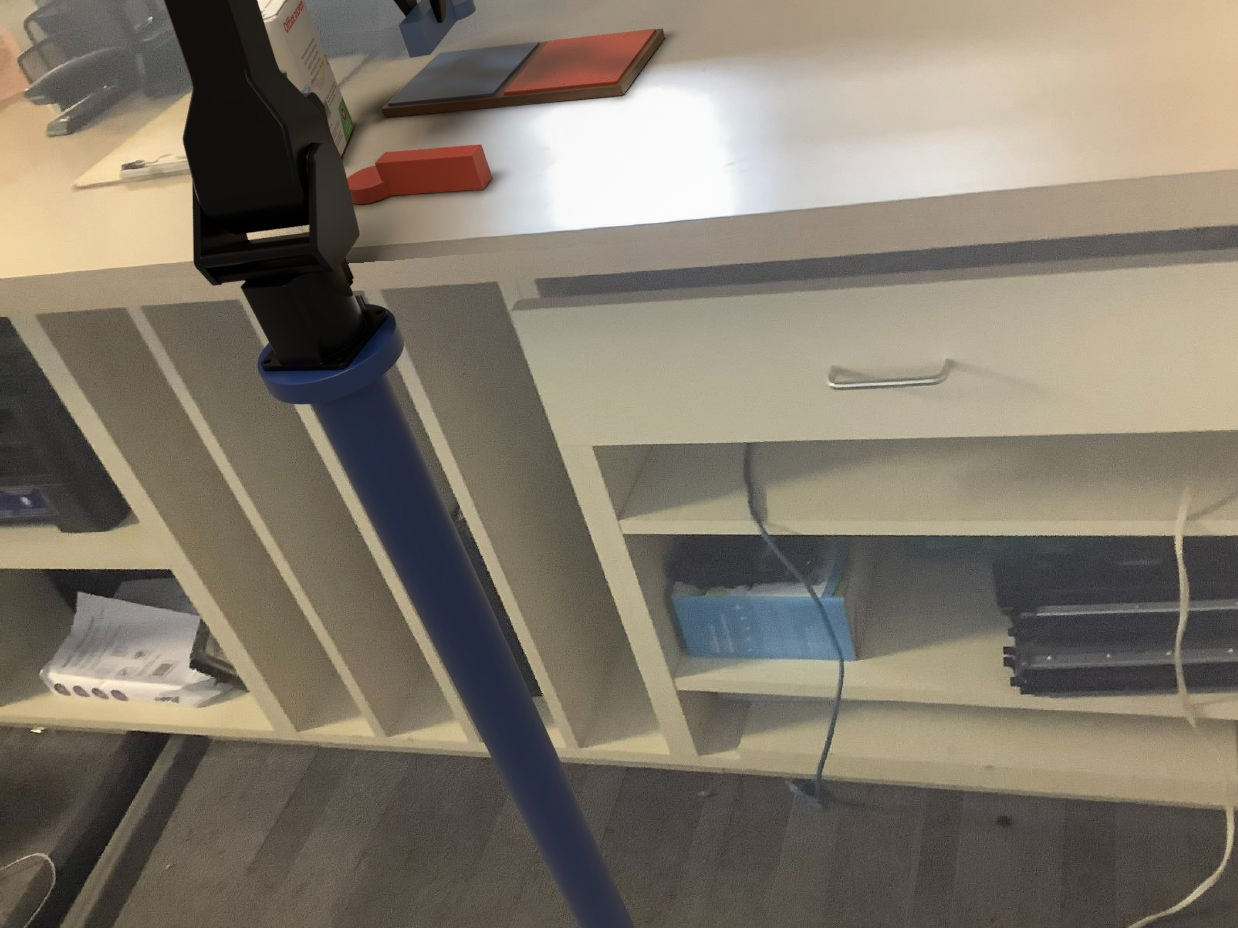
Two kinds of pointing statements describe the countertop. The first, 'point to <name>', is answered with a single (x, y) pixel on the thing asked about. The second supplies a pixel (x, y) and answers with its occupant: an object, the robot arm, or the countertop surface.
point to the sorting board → (527, 73)
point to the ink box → (306, 61)
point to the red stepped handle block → (421, 173)
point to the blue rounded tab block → (431, 25)
